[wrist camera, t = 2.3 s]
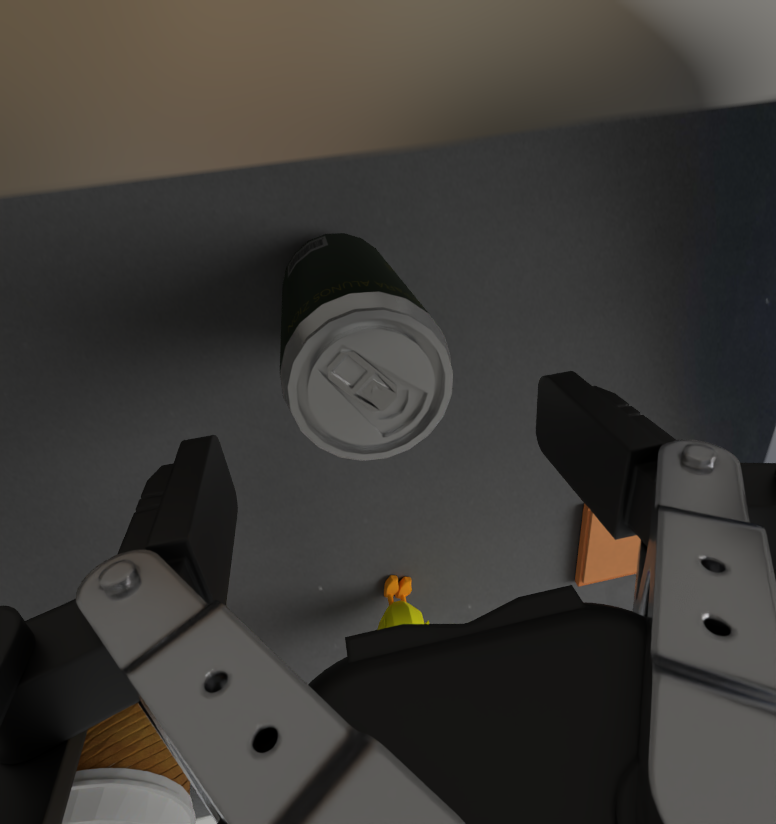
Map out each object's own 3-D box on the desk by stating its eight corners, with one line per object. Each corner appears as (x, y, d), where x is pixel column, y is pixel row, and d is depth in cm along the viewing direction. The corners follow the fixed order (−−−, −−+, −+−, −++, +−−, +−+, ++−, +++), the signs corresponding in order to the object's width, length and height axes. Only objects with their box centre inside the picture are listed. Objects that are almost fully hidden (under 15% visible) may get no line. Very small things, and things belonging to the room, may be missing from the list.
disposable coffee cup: (37, 641, 32) (-80, 875, 22) (163, 579, 32) (104, 791, 22) (133, 707, 37) (75, 926, 27) (245, 655, 37) (229, 858, 26)
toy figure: (388, 546, 34) (432, 724, 24) (435, 551, 35) (497, 724, 25) (361, 614, 37) (390, 800, 26) (406, 617, 38) (451, 797, 27)
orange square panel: (686, 481, 36) (694, 489, 35) (667, 560, 40) (674, 568, 39) (583, 503, 35) (590, 511, 35) (574, 580, 39) (580, 589, 39)
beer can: (259, 291, 24) (240, 403, 14) (331, 205, 23) (367, 258, 13) (341, 356, 27) (376, 493, 16) (410, 281, 25) (495, 379, 15)
